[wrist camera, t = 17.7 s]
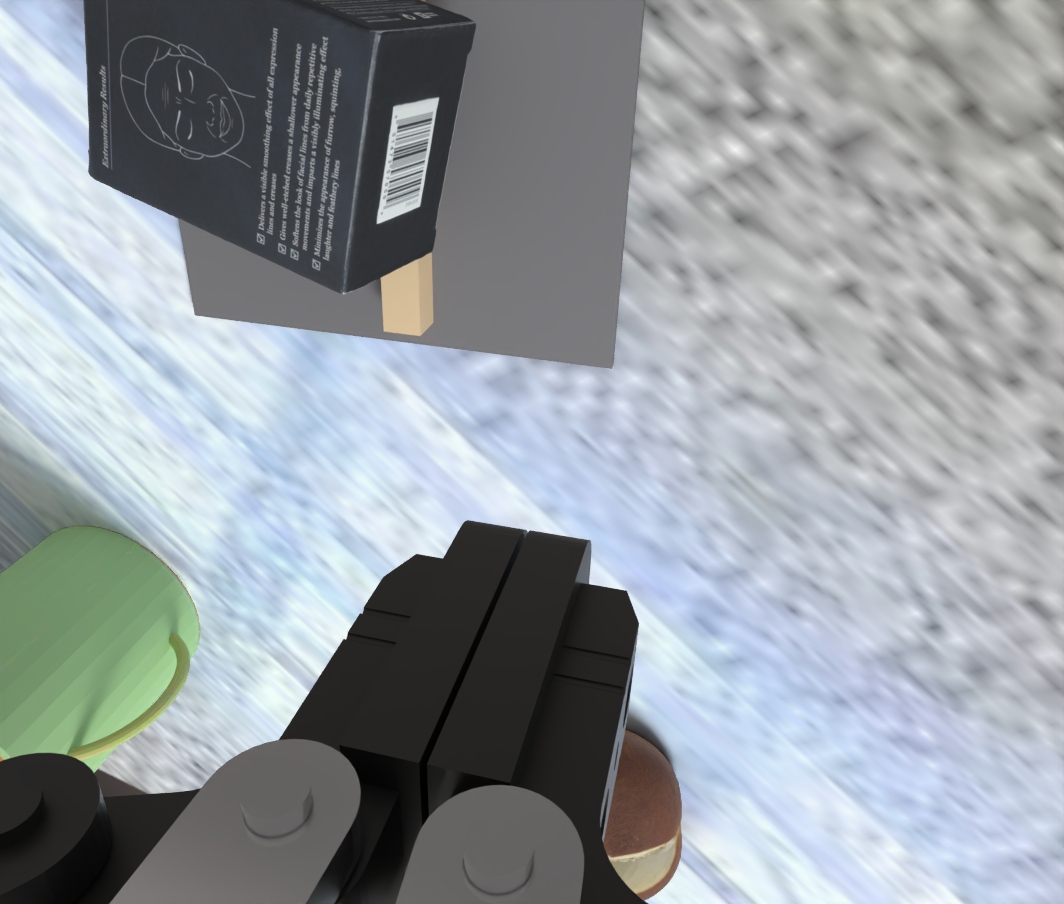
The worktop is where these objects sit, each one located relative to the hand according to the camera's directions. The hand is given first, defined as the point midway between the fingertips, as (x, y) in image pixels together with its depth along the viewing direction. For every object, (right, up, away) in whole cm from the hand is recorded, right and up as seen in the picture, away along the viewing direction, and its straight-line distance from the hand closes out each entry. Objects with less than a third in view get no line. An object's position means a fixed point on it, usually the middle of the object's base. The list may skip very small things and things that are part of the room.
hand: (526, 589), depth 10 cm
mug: (-22, -7, +37) cm, 43 cm away
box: (-3, +10, +16) cm, 19 cm away
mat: (-5, +13, +21) cm, 26 cm away
